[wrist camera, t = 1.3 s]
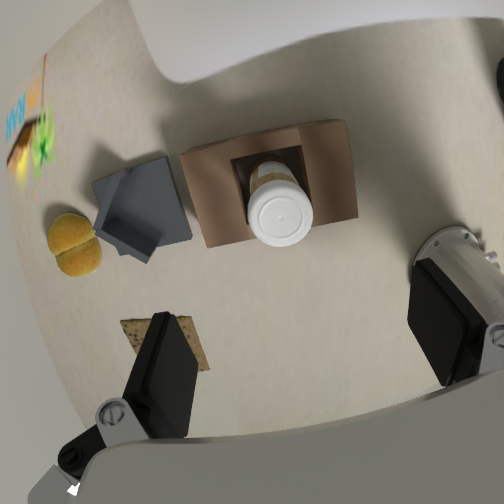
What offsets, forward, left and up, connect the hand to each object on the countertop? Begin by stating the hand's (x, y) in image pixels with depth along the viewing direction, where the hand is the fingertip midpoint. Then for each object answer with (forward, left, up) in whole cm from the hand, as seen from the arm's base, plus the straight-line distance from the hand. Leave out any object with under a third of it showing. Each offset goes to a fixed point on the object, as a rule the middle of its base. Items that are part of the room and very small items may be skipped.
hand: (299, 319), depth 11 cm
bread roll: (+27, +2, -24) cm, 36 cm away
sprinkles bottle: (0, 0, -24) cm, 24 cm away
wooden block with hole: (0, 0, -24) cm, 24 cm away
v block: (+15, 0, -24) cm, 28 cm away
